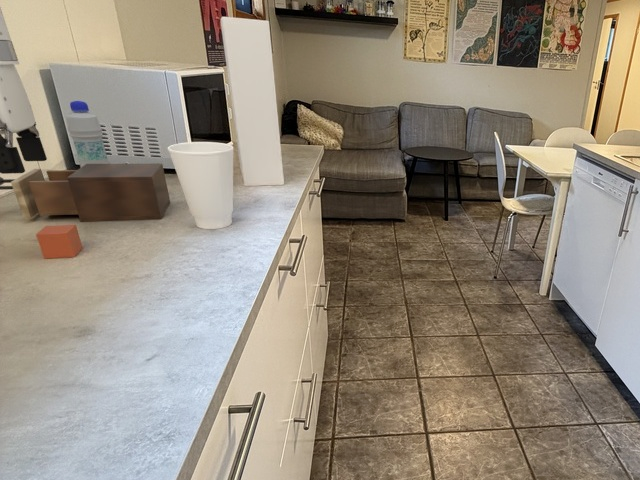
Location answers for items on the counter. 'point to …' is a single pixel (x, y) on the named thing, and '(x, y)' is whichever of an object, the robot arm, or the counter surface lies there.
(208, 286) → the counter surface
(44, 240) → the block
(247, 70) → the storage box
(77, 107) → the bottle
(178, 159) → the cup
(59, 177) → the drawer
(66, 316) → the counter surface
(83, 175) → the cabinet
